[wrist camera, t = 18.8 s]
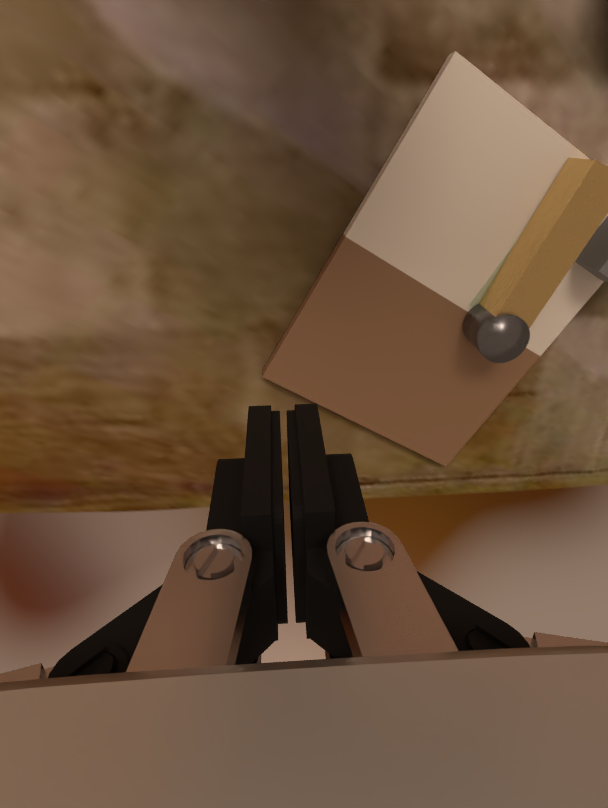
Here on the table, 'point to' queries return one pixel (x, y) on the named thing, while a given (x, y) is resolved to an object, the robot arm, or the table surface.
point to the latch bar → (539, 260)
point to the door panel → (434, 272)
